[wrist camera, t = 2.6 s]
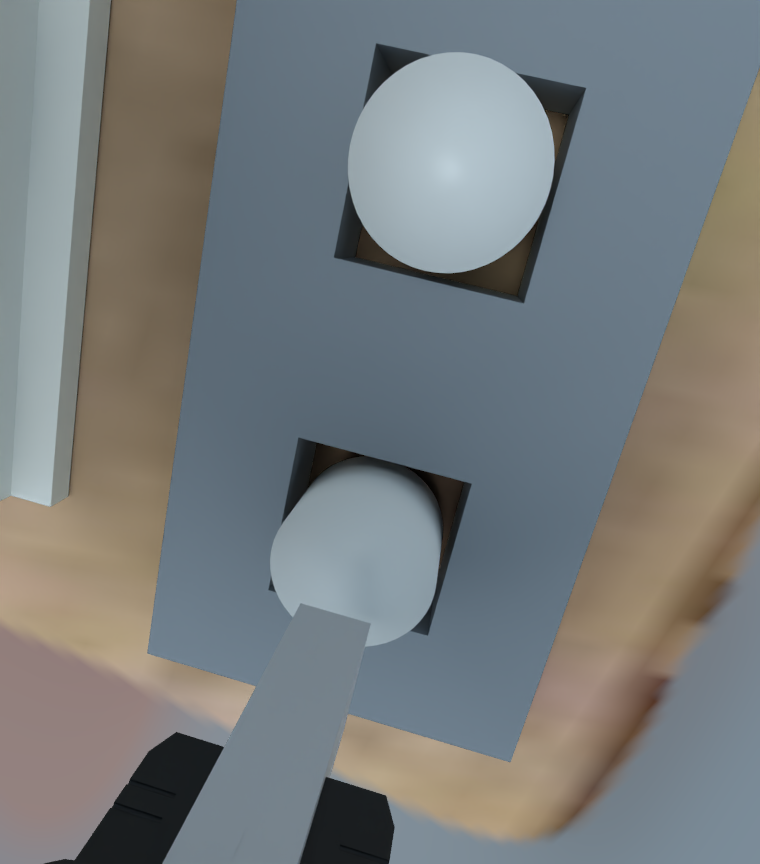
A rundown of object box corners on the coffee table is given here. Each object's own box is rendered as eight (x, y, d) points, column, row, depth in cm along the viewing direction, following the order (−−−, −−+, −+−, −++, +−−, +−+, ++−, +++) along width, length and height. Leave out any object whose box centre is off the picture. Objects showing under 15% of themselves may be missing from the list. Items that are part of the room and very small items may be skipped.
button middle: (391, 71, 16) (371, 32, 13) (563, 108, 16) (582, 76, 13) (354, 249, 17) (329, 248, 15) (513, 286, 17) (520, 293, 14)
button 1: (315, 440, 19) (286, 473, 16) (459, 478, 19) (456, 519, 16) (288, 569, 20) (257, 620, 18) (423, 607, 20) (413, 666, 17)
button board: (377, -620, 14) (351, -838, 11) (934, -549, 13) (1059, -768, 10) (187, 605, 24) (147, 653, 21) (506, 698, 23) (510, 762, 20)
